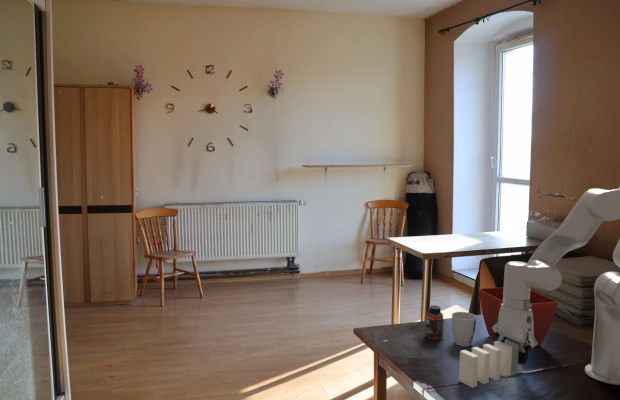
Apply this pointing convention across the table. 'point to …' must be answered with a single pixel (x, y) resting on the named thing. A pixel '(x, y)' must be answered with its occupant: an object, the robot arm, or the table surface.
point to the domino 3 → (494, 361)
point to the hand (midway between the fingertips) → (512, 358)
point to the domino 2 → (482, 364)
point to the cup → (463, 327)
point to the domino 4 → (505, 357)
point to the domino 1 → (468, 368)
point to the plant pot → (540, 308)
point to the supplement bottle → (434, 323)
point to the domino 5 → (514, 355)
